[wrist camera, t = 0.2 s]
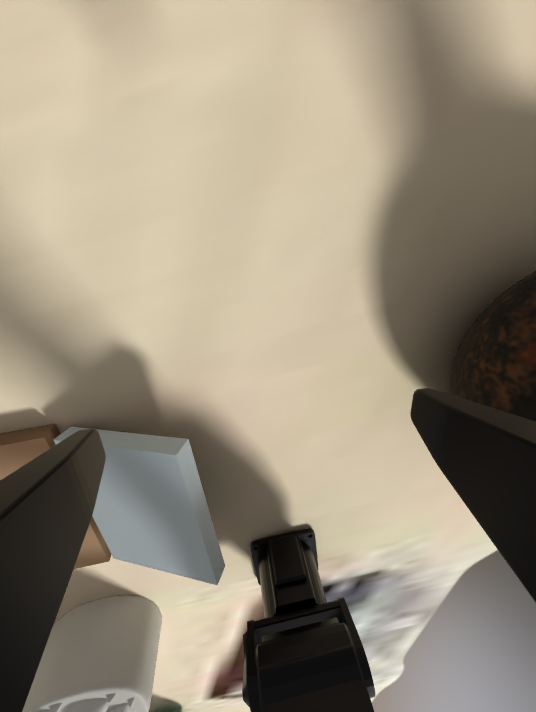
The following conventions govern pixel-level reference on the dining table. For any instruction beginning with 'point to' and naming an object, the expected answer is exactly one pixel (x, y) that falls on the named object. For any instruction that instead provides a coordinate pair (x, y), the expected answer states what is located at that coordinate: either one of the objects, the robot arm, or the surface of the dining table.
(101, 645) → the lumpy-topped squat cylinder
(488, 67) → the dining table surface
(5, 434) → the walnut floor board
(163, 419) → the dining table surface
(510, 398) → the brown flower vase
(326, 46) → the dining table surface
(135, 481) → the floor tile
